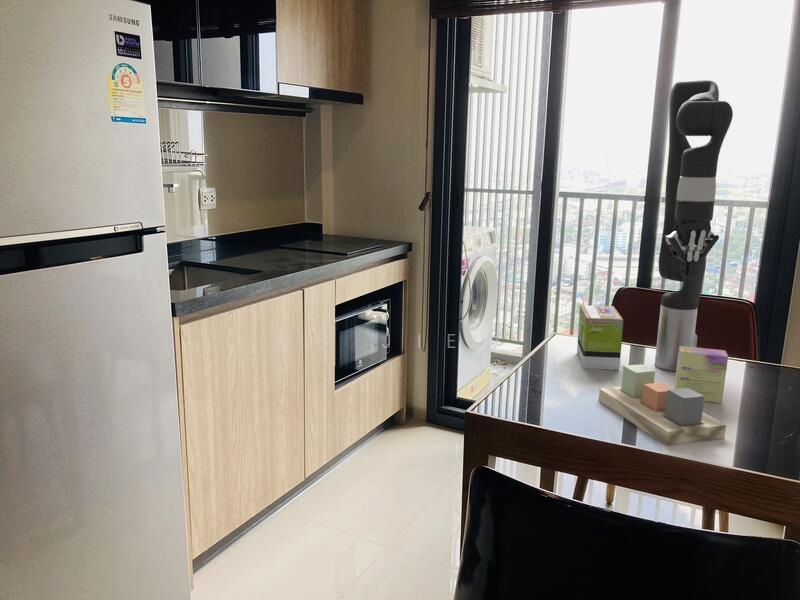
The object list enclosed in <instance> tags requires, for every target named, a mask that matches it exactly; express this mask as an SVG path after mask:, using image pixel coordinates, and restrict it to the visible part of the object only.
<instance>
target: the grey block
mask: <svg viewBox="0 0 800 600" xmlns="http://www.w3.org/2000/svg"><path fill="white" fill-rule="evenodd" d="M704 402H705V401H704V396H703V395H701V394H699V393H697V392H695V391H693V390H691V389H689V388H680V389H670V390H668V393H667V402H666V411H665V418H666V419H668V420H670V421H671V422H673V423H675V424H676V425H678V426H680V427H683V426H692V425H700V424H701V419H702V412H703V409H704Z"/></svg>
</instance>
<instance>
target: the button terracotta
mask: <svg viewBox="0 0 800 600" xmlns="http://www.w3.org/2000/svg"><path fill="white" fill-rule="evenodd" d="M670 389H675V388H674V387H673V386H672V385H669V384H667V383H666V382H654V383H650V384H644V387H643V396H642V404H643V405H645V406H646V407H648V408H650V409H651V410H653V411H655V412H660V411H666V402H667V393H668V390H670Z"/></svg>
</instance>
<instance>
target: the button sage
mask: <svg viewBox="0 0 800 600" xmlns="http://www.w3.org/2000/svg"><path fill="white" fill-rule="evenodd" d="M622 367H623V368H622V376H621V386H620V387H621V391H622V392H623V393H625V394H627V395H628V396H630V397H631V398H633V399H634V398H642V396H643V387H644V384H650V383H655V379H656V378H655V377H656V370H654V369H652V368H650V367H648V366H646V365H644V364H641V363H640V364H630V365H623V366H622Z"/></svg>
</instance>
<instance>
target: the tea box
mask: <svg viewBox="0 0 800 600" xmlns="http://www.w3.org/2000/svg"><path fill="white" fill-rule="evenodd" d="M578 311H579V313H578V315H579V316H578V329H577V330H578V333H577V346H576V347H577V348H576V352H577V356H578V357H579V361H580V363H581V366H582V368H583V369H584V368H589V369H588V370H601V369H608V370H607V371H619V370H620V368H621V357H622V356H621V354H622V344H623V343H622V340H623V331H624V330H623V329H624V319H623V317H622V316H621V315H620V313H619V312H618V310H617V309H616V308H615V306H614V305H611V306H610V305H583V304H582V305H581V304H580V305H579V310H578Z"/></svg>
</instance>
